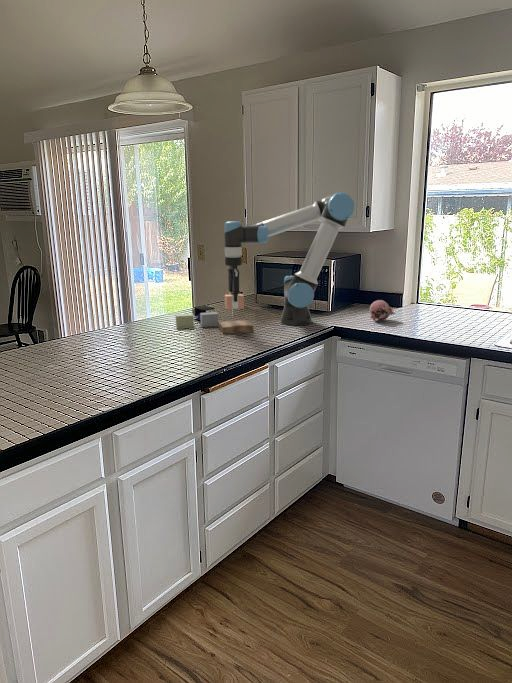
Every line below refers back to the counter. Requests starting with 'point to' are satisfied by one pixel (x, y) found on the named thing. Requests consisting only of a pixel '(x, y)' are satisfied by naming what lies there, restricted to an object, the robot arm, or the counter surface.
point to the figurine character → (200, 310)
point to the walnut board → (235, 326)
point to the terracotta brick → (229, 301)
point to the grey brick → (209, 319)
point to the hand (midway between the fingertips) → (234, 307)
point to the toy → (380, 310)
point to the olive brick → (184, 321)
